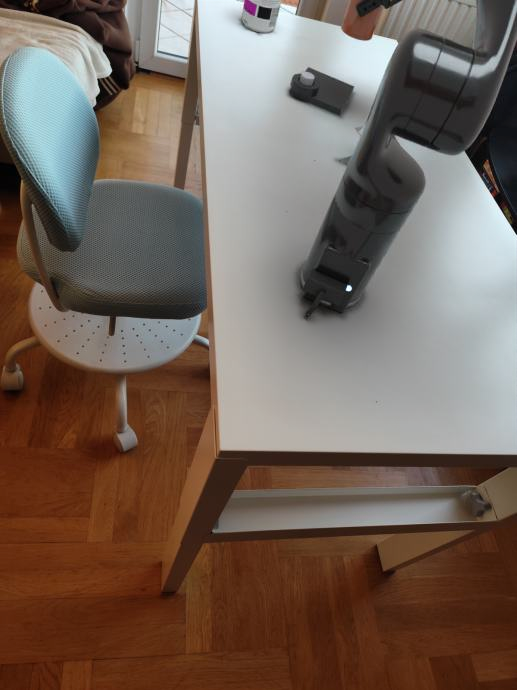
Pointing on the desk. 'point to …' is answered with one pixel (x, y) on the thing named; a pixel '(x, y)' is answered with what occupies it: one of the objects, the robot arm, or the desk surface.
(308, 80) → the button
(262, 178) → the desk surface
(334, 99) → the scale
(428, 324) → the desk surface
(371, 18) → the terracotta flower pot
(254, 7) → the supplement can
